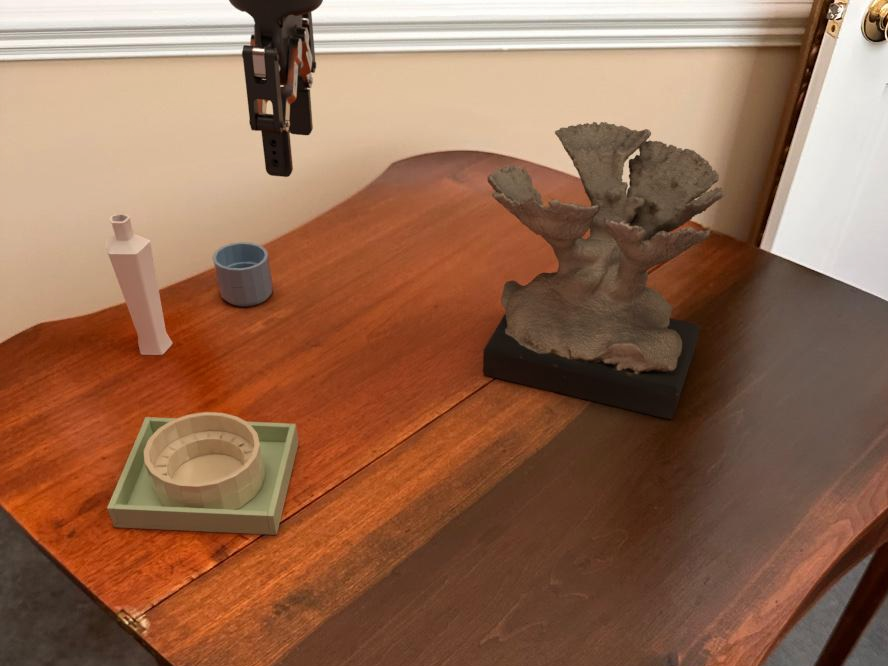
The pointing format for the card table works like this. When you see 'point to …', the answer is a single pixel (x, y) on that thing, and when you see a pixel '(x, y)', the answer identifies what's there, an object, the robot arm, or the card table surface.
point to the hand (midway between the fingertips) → (290, 153)
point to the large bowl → (205, 462)
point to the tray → (258, 516)
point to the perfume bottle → (138, 284)
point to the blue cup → (243, 273)
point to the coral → (604, 273)
